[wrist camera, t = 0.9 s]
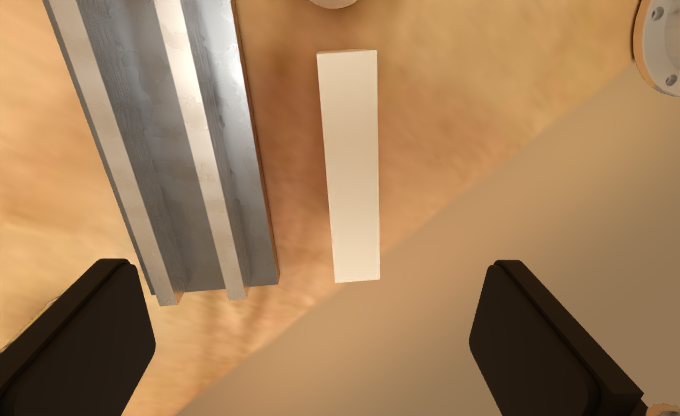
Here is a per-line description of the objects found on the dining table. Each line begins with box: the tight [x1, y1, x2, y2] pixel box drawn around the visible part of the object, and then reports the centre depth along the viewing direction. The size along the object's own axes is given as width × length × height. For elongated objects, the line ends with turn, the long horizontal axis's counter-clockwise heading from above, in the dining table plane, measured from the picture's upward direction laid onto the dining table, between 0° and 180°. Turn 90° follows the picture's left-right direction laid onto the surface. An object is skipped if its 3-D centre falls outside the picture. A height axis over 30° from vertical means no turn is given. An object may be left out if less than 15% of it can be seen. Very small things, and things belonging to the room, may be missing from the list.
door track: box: [43, 0, 280, 306], centre depth 27 cm, size 12×26×4 cm, turn 3°
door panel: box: [317, 49, 380, 283], centre depth 25 cm, size 3×14×10 cm, turn 3°
